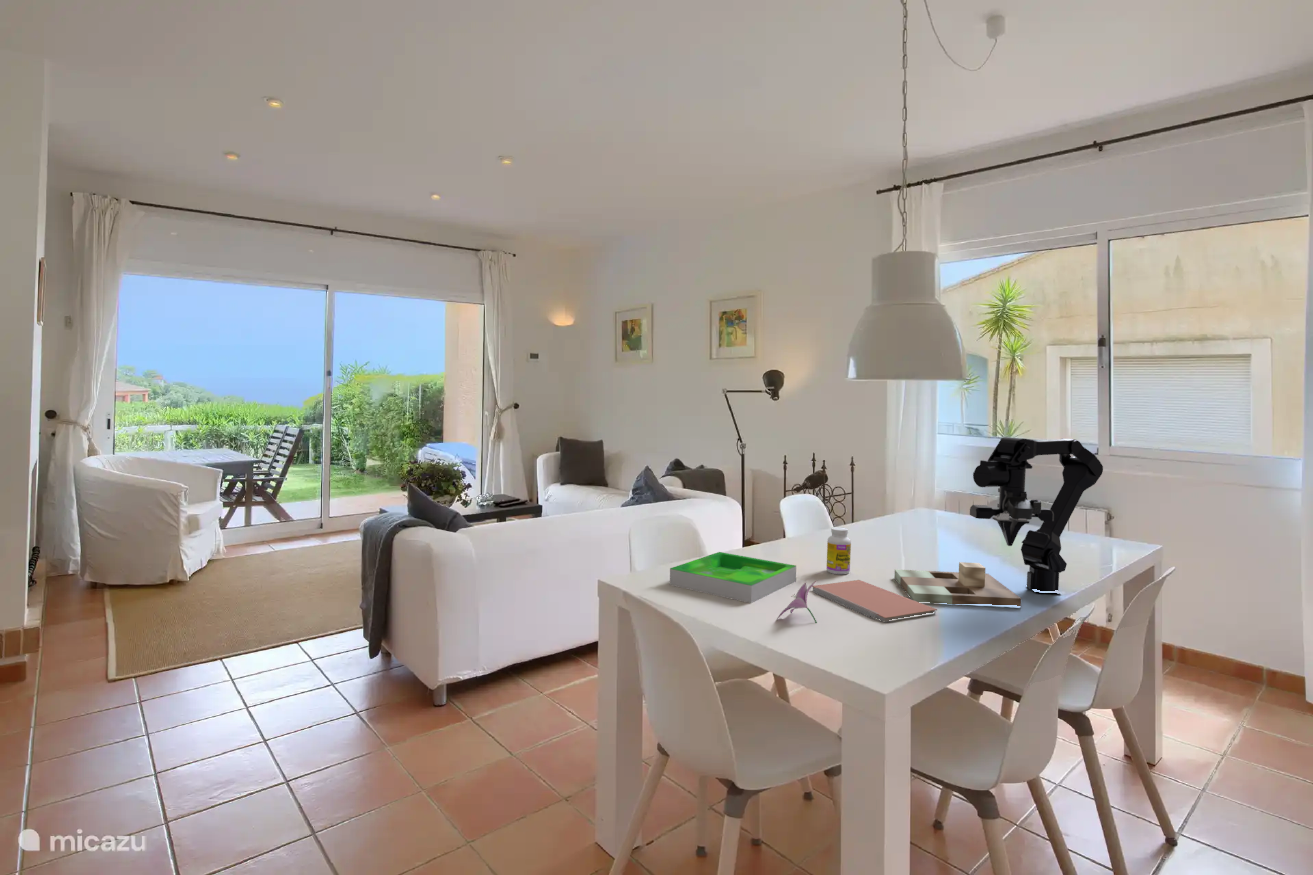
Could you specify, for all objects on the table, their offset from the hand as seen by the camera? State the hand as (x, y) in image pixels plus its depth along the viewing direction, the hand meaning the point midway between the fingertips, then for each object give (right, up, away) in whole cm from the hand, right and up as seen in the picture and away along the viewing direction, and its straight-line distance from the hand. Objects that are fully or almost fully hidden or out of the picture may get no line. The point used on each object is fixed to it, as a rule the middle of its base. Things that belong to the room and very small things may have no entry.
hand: (1009, 545), depth 174 cm
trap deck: (-13, -13, +3) cm, 18 cm away
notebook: (-38, -14, -6) cm, 41 cm away
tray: (-71, -12, +9) cm, 72 cm away
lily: (-59, -14, -20) cm, 64 cm away
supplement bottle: (-39, -11, +22) cm, 46 cm away
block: (-9, -10, +2) cm, 14 cm away
